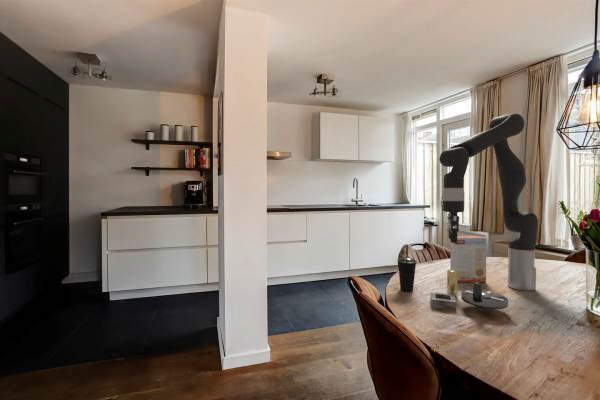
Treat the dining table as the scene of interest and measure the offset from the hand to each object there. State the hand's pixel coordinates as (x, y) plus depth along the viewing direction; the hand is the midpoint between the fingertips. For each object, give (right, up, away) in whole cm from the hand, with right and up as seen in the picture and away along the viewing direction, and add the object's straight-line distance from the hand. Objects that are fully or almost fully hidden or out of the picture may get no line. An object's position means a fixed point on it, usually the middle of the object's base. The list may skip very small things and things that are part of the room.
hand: (452, 240), depth 117 cm
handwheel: (+4, -19, -13) cm, 24 cm away
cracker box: (+19, -22, +24) cm, 38 cm away
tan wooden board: (-1, -24, -11) cm, 26 cm away
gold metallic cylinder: (0, -23, +1) cm, 23 cm away
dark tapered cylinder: (-15, -23, +8) cm, 29 cm away
